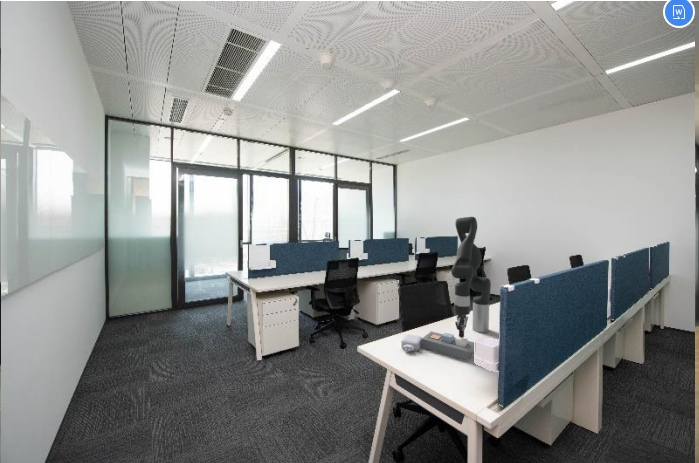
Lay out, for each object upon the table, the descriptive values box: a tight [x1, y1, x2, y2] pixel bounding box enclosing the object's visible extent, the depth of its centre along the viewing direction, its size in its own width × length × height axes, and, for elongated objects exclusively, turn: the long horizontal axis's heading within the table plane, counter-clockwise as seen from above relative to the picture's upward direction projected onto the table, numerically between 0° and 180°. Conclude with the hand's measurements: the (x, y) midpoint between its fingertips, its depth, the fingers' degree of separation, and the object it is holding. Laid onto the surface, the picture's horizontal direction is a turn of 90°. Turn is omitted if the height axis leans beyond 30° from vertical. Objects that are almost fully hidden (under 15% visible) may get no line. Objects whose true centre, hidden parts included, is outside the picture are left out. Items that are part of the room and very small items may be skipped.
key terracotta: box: [429, 335, 441, 340], centre depth 155 cm, size 5×5×5 cm
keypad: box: [420, 330, 475, 362], centre depth 151 cm, size 13×24×5 cm, turn 51°
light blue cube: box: [442, 332, 455, 344], centre depth 151 cm, size 5×5×5 cm
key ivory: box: [455, 335, 469, 348], centre depth 146 cm, size 5×5×5 cm
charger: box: [400, 333, 423, 352], centre depth 153 cm, size 5×9×15 cm
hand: (461, 337), depth 146 cm, fingers closed
